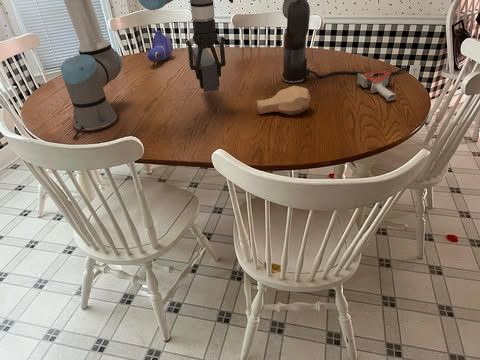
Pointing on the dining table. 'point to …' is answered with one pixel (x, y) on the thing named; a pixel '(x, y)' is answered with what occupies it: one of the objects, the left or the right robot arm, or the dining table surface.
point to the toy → (160, 47)
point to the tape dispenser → (377, 83)
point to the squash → (286, 101)
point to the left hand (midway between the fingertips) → (209, 86)
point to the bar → (207, 70)
